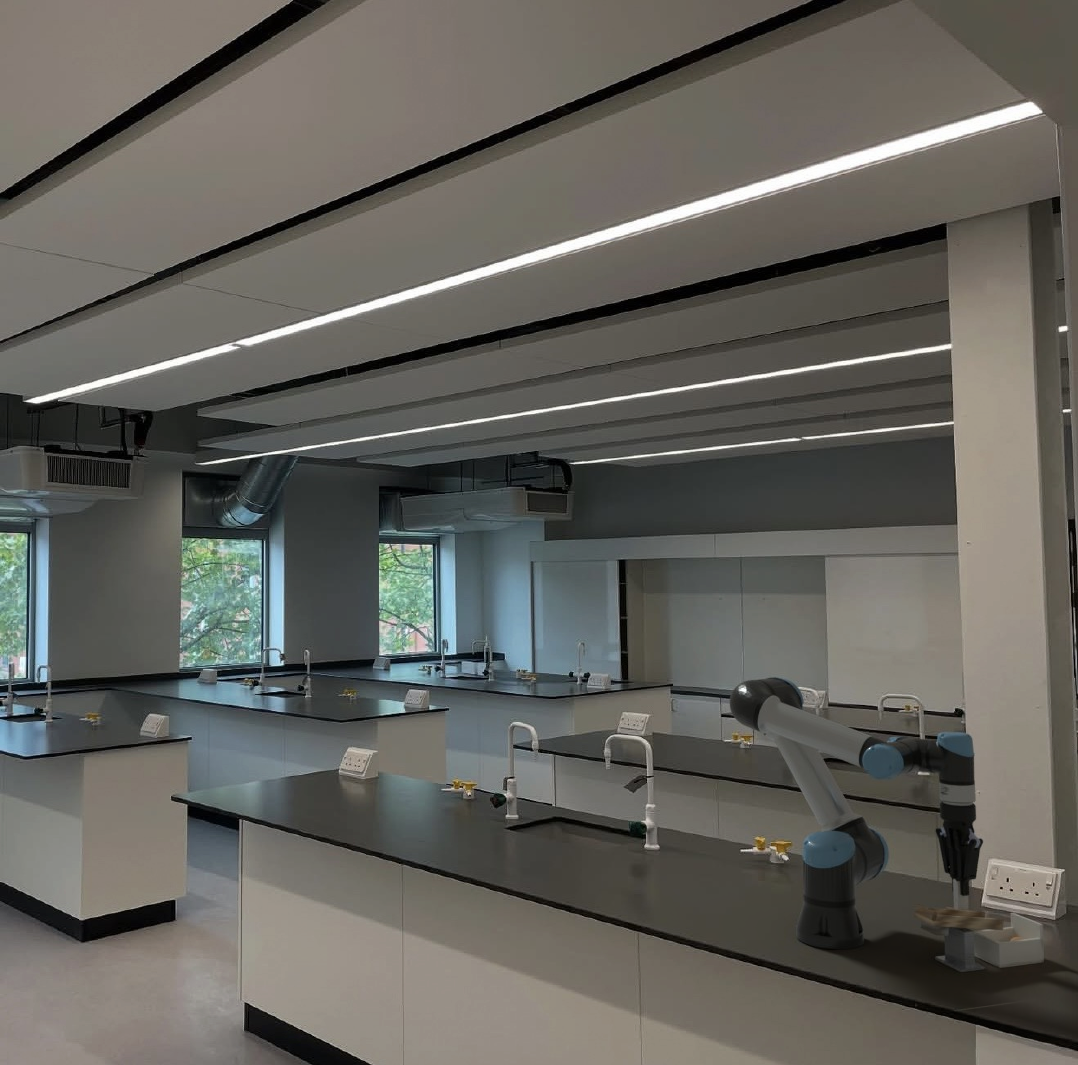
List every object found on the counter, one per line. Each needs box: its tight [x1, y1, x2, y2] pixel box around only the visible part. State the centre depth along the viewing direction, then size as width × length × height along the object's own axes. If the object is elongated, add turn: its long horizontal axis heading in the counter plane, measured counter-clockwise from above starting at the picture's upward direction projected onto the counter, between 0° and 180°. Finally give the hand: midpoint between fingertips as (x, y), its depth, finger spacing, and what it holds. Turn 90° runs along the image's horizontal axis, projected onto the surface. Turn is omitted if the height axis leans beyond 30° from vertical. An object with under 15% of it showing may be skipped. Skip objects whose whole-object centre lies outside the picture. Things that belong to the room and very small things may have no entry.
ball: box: [1010, 937, 1023, 941], centre depth 224 cm, size 4×4×4 cm
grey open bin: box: [973, 912, 1045, 969], centre depth 223 cm, size 9×12×8 cm
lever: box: [913, 903, 1005, 937], centre depth 223 cm, size 18×13×5 cm
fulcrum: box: [935, 927, 985, 973], centre depth 220 cm, size 6×8×8 cm
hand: (961, 908), depth 229 cm, fingers closed
